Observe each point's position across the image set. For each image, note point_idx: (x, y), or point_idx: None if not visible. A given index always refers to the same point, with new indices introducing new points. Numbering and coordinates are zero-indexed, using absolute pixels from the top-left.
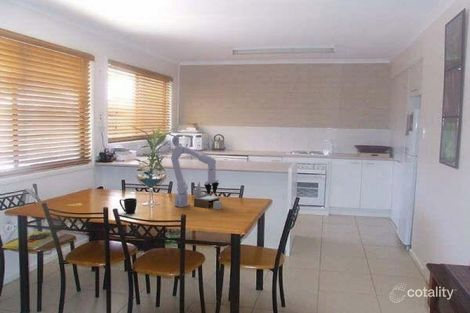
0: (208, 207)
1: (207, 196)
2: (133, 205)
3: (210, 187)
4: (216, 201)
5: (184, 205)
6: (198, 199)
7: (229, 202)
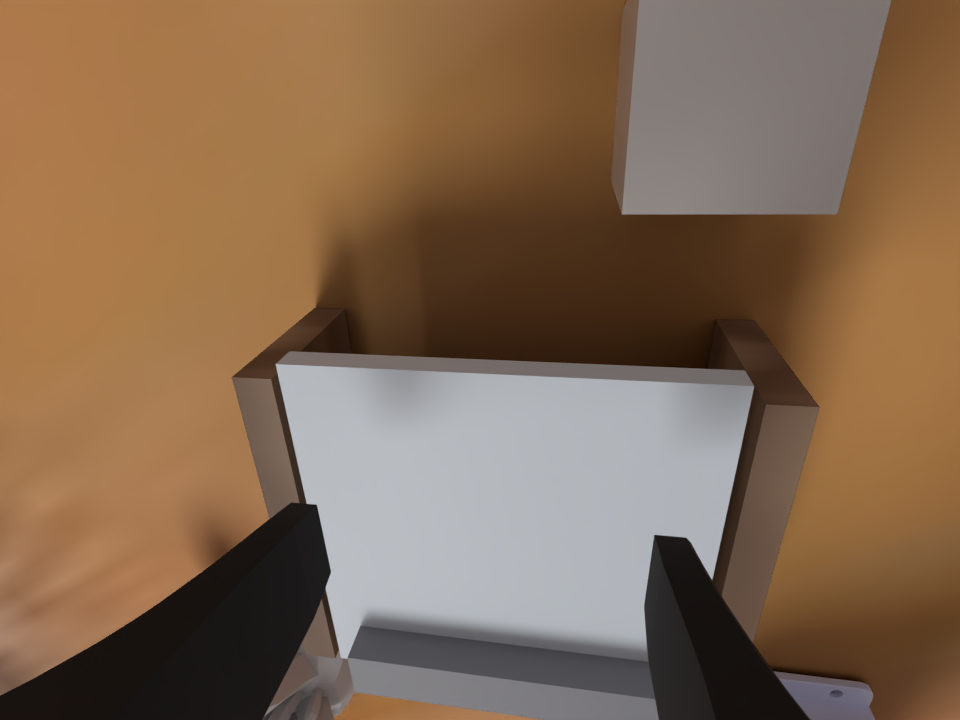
0: (725, 322)
1: (405, 594)
2: None
3: None
4: (734, 156)
5: (787, 689)
6: (752, 629)
7: (43, 237)
